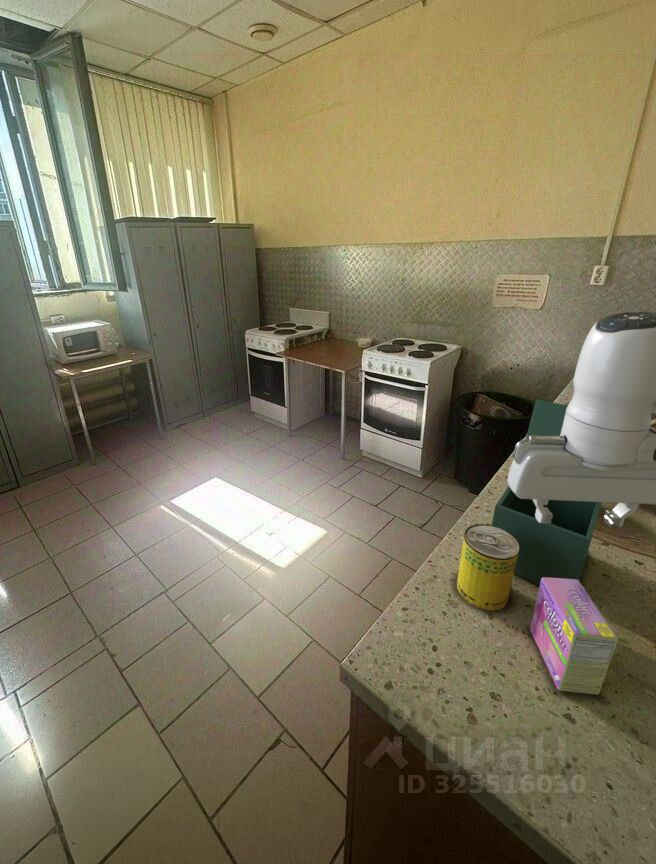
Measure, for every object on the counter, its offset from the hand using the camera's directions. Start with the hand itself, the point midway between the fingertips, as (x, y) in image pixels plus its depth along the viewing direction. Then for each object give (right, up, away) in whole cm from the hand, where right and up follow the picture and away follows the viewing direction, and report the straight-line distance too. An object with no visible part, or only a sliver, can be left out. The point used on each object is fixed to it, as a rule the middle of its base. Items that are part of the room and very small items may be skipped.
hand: (576, 522), depth 57 cm
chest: (+10, -15, +26) cm, 32 cm away
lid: (+16, +8, +25) cm, 31 cm away
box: (+1, -24, +5) cm, 24 cm away
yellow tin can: (-5, -19, +18) cm, 27 cm away
